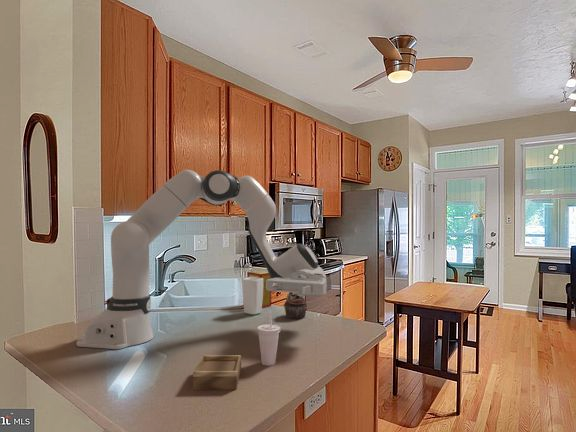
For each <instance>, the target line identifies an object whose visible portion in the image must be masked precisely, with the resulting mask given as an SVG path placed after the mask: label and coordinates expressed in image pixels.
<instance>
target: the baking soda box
mask: <svg viewBox="0 0 576 432" xmlns="http://www.w3.org/2000/svg"><path fill="white" fill-rule="evenodd" d="M249 277H257V278H263V301H262V309H266V308H270V306H271V307H272V291H268V290H267V289H266V280H267V279H271V277H270V275H269V273H268V271H264V270H254V271H253V270H252V271H247V278H249Z"/></svg>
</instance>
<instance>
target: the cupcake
mask: <svg viewBox="0 0 576 432" xmlns="http://www.w3.org/2000/svg"><path fill="white" fill-rule="evenodd" d="M306 301H307V300H306V299H305V297H304V296H298V295H296V294H294V293H292V292H288V293H287V294H286V300H285V302H284V303H283V307H284V311H285V317H286V318H287V319H289V320H290V319H291V320H301V319H302V320H303V319H305V317H306V314H307V313H306V311H307V308H308V304H307V302H306Z"/></svg>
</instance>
